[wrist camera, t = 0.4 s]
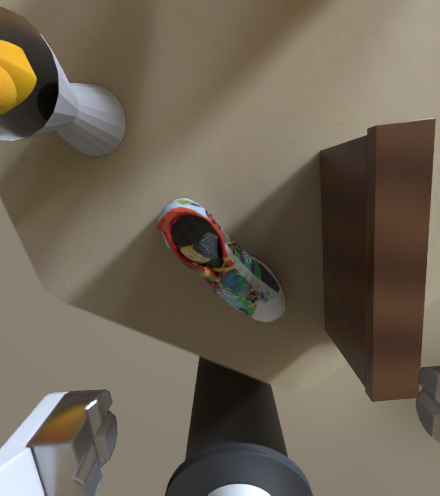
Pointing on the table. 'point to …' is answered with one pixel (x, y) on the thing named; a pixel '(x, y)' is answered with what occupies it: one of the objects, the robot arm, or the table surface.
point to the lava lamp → (51, 95)
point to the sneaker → (221, 261)
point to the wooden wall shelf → (378, 252)
